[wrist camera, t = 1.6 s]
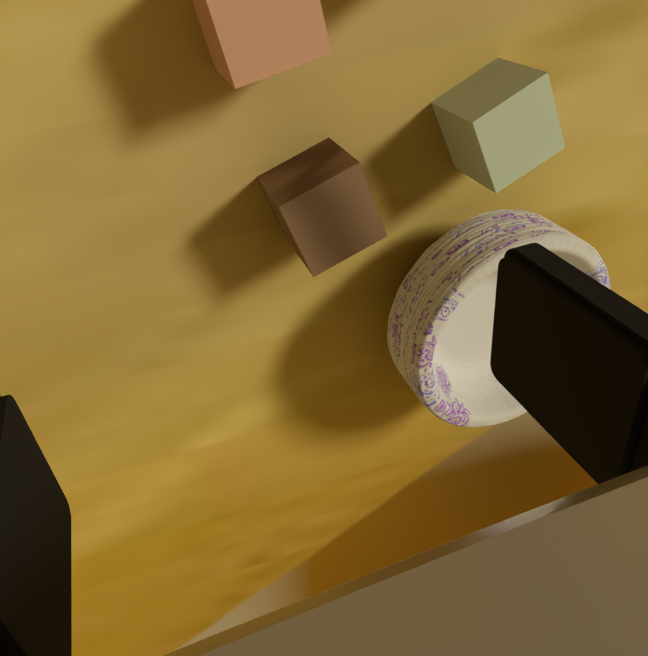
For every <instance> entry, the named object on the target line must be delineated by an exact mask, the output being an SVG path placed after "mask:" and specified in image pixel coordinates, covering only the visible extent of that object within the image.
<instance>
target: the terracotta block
mask: <svg viewBox="0 0 648 656" xmlns="http://www.w3.org/2000/svg"><path fill="white" fill-rule="evenodd" d="M192 3H193V6H194V9H195V12H196V15H197V18H198V21H199V24H200V27H201V29H202V32H203V35H204V38H205V41H206V44H207V47H208V50H209V53H210V56H211V58H212V61H213V64H214V67H215V70H216V71H217V72H218V73H219V74H220V75H221V76H222V77H223V78H224V79H225V80H226V81H227V82H228V83H230V84H231V85H232V86H233V87H234V88H235V89H237V88H240V87H243V86H246V85H248V84H251V83H254V82H256V81H259V80H262V79H265V78H267V77H270V76H273V75H276V74H278V73H281V72H284V71H286V70H289V69H292V68H295V67H297V66H300V65H303V64H306V63H308V62H311V61H314V60H316V59H319V58H322V57H325V56H327V55H330V54H332V51H331V47H330V42H329V38H328V33H327V29H326V25H325V20H324V16H323V11H322V7H321V2H320V0H192Z"/></svg>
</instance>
